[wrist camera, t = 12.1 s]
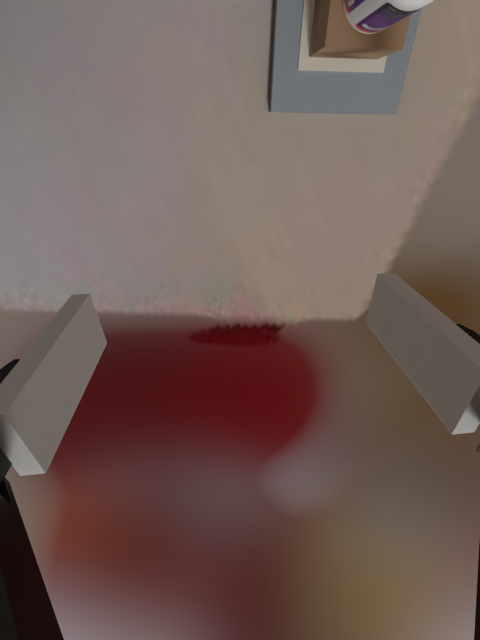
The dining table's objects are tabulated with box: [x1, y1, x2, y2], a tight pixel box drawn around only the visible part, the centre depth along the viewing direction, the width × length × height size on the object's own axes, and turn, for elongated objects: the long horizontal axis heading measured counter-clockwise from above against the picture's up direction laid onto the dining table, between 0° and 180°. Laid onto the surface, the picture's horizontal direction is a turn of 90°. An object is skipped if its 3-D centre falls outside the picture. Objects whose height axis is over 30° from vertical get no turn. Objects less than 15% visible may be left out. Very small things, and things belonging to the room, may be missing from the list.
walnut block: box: [309, 0, 411, 59], centre depth 26 cm, size 7×7×5 cm
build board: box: [269, 0, 421, 114], centre depth 29 cm, size 14×16×1 cm
